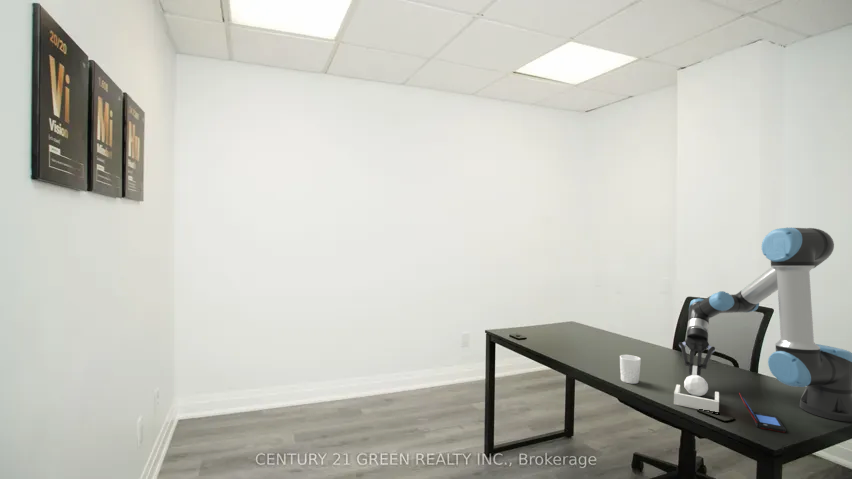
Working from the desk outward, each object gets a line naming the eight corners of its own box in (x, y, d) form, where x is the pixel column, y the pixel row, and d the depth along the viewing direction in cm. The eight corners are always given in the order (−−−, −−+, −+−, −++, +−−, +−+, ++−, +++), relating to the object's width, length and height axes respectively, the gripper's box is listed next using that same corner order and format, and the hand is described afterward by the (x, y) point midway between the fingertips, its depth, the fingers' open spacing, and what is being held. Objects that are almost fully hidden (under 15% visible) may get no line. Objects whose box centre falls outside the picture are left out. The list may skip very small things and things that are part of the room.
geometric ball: (701, 402, 161) (716, 388, 159) (690, 398, 157) (706, 384, 155) (686, 386, 167) (701, 372, 165) (675, 382, 164) (690, 368, 161)
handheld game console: (786, 434, 131) (787, 410, 131) (744, 426, 136) (744, 403, 136) (777, 418, 142) (777, 397, 142) (737, 411, 147) (738, 390, 147)
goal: (676, 394, 162) (676, 384, 162) (718, 402, 154) (718, 392, 154) (673, 404, 152) (674, 393, 152) (718, 413, 145) (718, 402, 145)
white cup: (642, 385, 171) (643, 360, 171) (622, 383, 173) (622, 359, 173) (636, 378, 179) (637, 355, 179) (617, 377, 181) (617, 354, 180)
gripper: (716, 339, 177) (714, 390, 164) (680, 334, 185) (675, 383, 172) (716, 329, 172) (714, 381, 159) (679, 324, 180) (674, 373, 167)
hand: (694, 382), depth 166 cm, fingers closed
